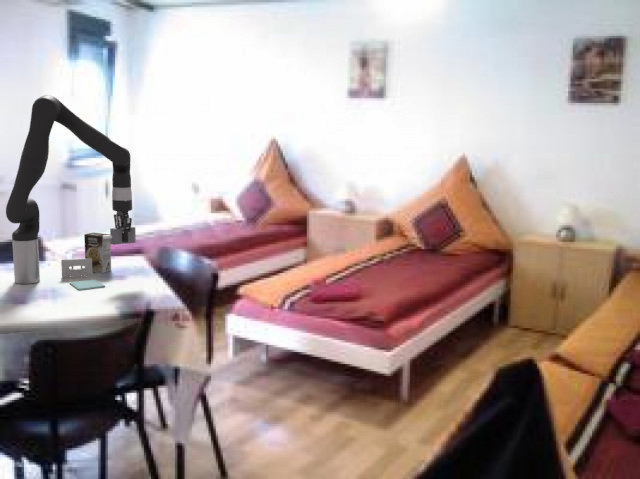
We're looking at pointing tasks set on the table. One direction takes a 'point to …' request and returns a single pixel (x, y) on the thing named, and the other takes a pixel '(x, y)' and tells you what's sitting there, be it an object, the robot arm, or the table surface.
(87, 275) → the cassette
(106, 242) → the coffee box
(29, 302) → the table surface
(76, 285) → the teal rubber mat
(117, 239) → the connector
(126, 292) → the table surface
